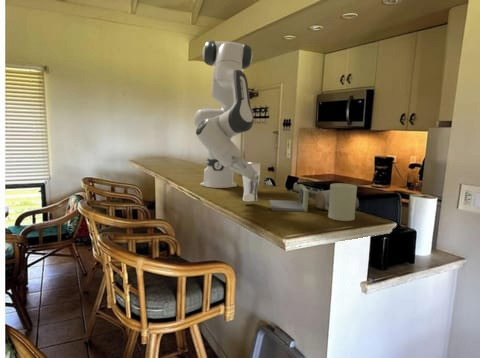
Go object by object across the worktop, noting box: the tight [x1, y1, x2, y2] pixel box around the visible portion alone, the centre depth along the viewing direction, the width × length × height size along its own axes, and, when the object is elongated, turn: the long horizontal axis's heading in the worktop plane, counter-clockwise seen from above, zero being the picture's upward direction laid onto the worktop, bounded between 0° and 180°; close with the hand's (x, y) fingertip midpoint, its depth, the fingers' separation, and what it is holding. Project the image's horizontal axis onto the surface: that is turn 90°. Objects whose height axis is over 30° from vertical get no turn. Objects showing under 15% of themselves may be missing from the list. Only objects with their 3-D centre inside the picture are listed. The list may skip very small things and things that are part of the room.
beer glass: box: [241, 161, 261, 203], centre depth 138 cm, size 7×7×15 cm
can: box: [327, 182, 358, 222], centre depth 122 cm, size 9×9×12 cm
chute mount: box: [269, 183, 309, 212], centre depth 137 cm, size 14×13×8 cm
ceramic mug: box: [314, 189, 330, 212], centre depth 134 cm, size 11×8×8 cm
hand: (252, 180), depth 138 cm, fingers closed on beer glass, 7 cm apart
